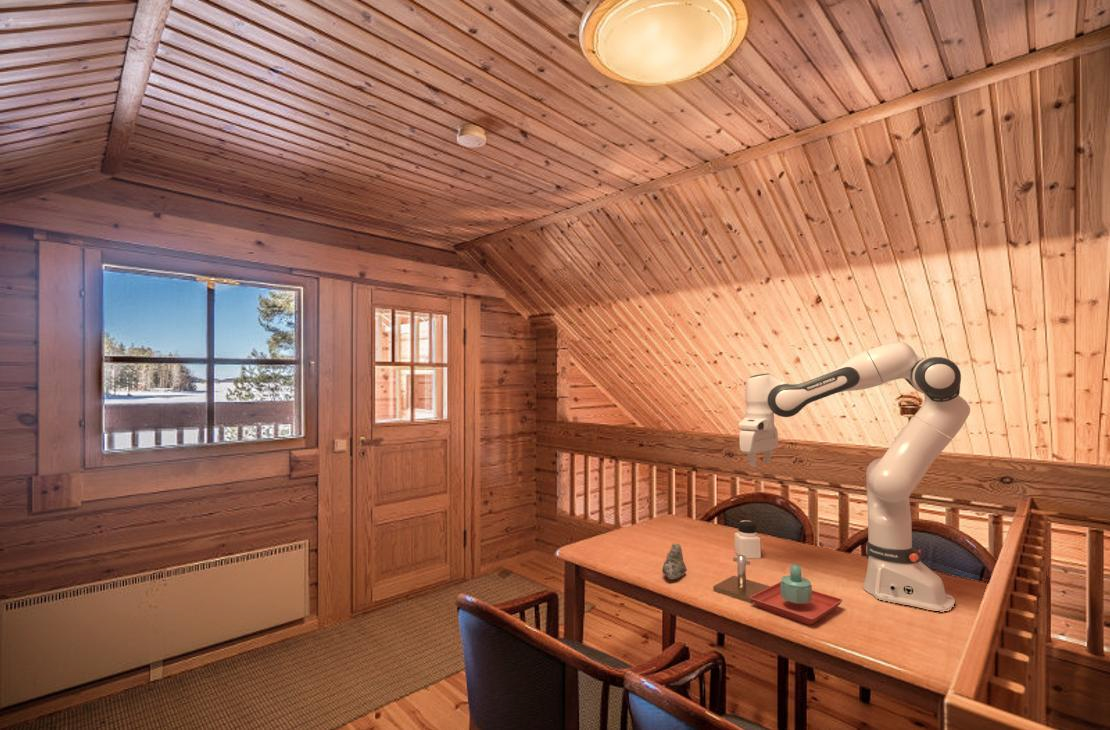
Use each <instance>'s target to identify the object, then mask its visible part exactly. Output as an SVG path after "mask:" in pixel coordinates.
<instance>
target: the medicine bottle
mask: <svg viewBox="0 0 1110 730" xmlns="http://www.w3.org/2000/svg"><path fill="white" fill-rule="evenodd" d="M737 528H738V529H737V530H738V532H734V552H735V554H736V555H744V556H746V560H747V559H755V560H756V559H762V549H761V548H762V546H761V545H762V541H761V538H760V537H759V536H758V535H757V524H756V522H754V521H752V520H740V521H739V522H738V527H737Z"/></svg>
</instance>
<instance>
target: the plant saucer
mask: <svg viewBox="0 0 1110 730" xmlns="http://www.w3.org/2000/svg"><path fill="white" fill-rule="evenodd" d="M750 599H751V600H752V601H753V604H754V605H756V606H757V608H759V609H762V610H765V611H767V612H770V613H773V614H776V615H779V616H782V617H784V618H787V619H790V620H792V621H795V622H798V623H801V624H804V625H807V626H811V625H812V624H814V623H816V622H817V621H819V620H821V619H822V618H823V617H825V616H827V615H829V614H830V613H832V612H834V611H835V610H836V609H837V608H838V607H839V606H840V605H841V603H842V602H843V599H842V598H839V597H835V596H833V595H829V594H825V593H823V592H819V591H816V590H813V589H812V600H811V601H810V602H809V603H793V602H790V601H786V600H785V599H784V598H783V597H781V587H780V581H778V582H777V583H775V584H773V585H770V587H769V588H767V589H765V590H763V591H761V592H759V593H757V594H755V595H752V596H750Z"/></svg>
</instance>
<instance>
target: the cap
mask: <svg viewBox="0 0 1110 730" xmlns="http://www.w3.org/2000/svg"><path fill="white" fill-rule="evenodd" d="M789 568H790V569H789V573H790V574H789V575H784V576H782V577H781V580H780V581H779V582H780V587H781V597H783V598H784V599H785V600H786V601H790V602H793V603H809V602H810V601H811V600H812V590H813V585H812V583H811V580H809V579H808V578H806V577H804V576H803V577H802V566H801V565H800V564H795V563H793V564H792V563H791V564H790V565H789Z"/></svg>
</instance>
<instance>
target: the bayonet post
mask: <svg viewBox="0 0 1110 730" xmlns="http://www.w3.org/2000/svg"><path fill="white" fill-rule="evenodd" d="M736 555H737V554H736ZM732 561H733V562H736V563H737V564H736V565H737V566H736V567H737V568H736V569H737V572H736V573H737V576H736V575H732V576H729V577H727V578H726V579H723V580H722V581H720V582H718V583H717V584H714V585H713V587H712V588H713V592H715V593H718V594H721V595H724V596H728V597H731V598H732V599H733V598H734V599H737V600H740V601H743V602H746V603H749V604H752V603H753V604H754V602H753V601H752V600H751V599H750V596H752V595H755V594H757V593H759V592H761V591H763V590H765V589H767V588H769V587H771V585H767V584H764V583H761V582H757V581H754V580H750V579H747V566H749V565H751V561H750V560H747V559H746V556H744V555H737V557H732Z"/></svg>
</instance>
